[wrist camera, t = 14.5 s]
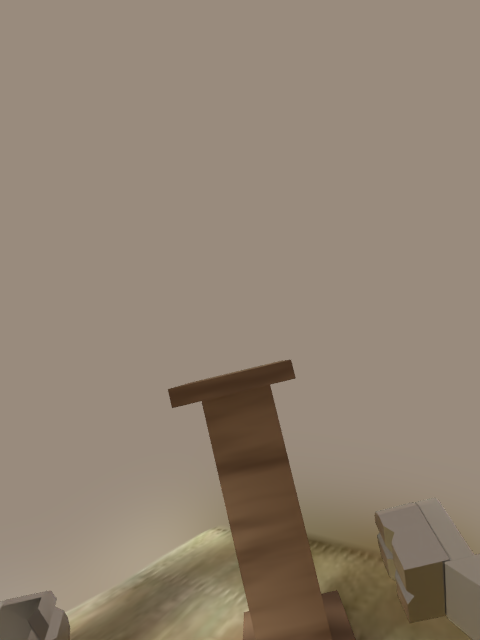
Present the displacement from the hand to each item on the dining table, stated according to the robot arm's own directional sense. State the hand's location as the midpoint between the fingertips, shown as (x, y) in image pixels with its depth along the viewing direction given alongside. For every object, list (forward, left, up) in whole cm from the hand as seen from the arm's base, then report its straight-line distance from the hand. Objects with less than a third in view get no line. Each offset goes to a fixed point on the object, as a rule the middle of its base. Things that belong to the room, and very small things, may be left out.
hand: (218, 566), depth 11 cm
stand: (-24, +20, -22) cm, 38 cm away
